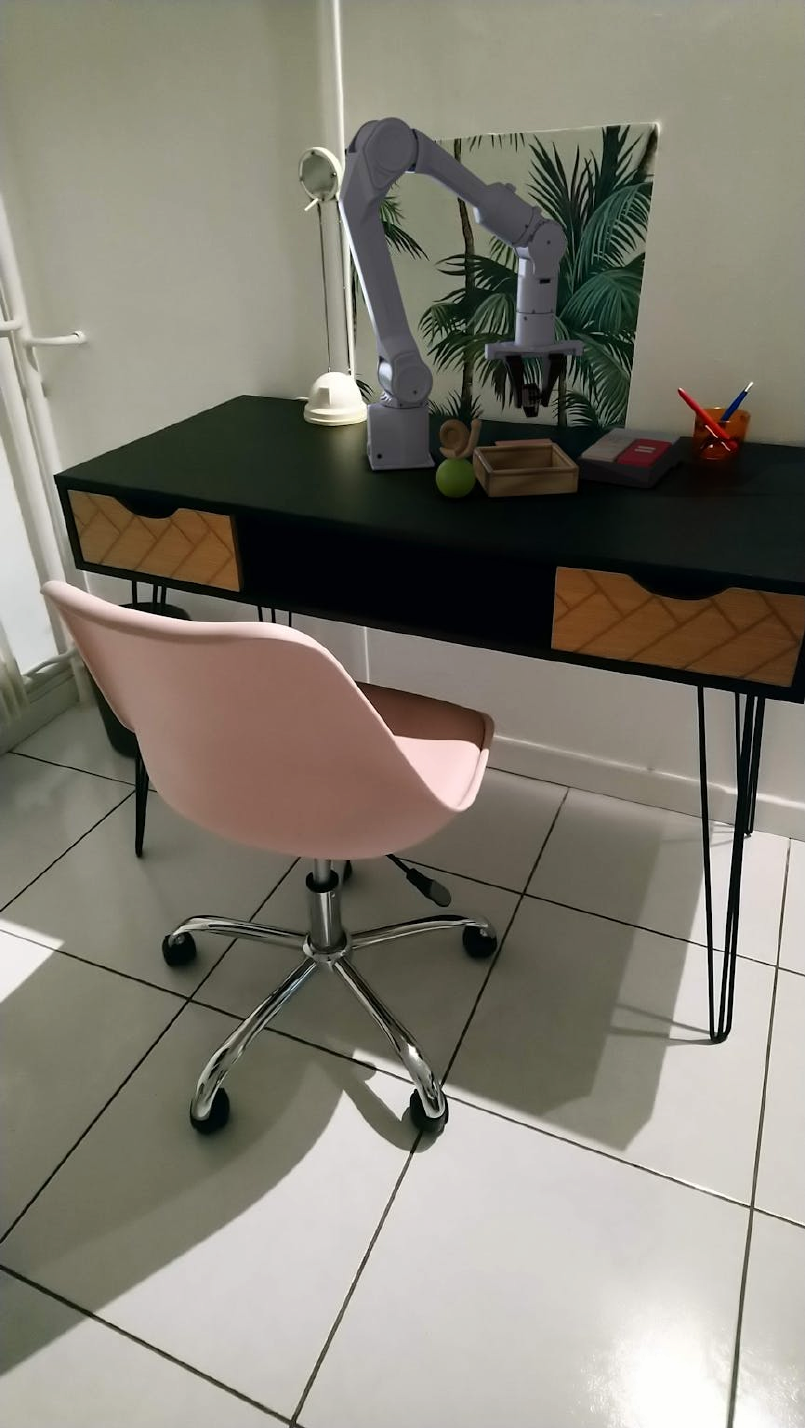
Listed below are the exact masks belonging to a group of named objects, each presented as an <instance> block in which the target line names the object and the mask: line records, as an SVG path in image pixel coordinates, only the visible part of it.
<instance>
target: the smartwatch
mask: <svg viewBox="0 0 805 1428" xmlns="http://www.w3.org/2000/svg"><path fill="white" fill-rule="evenodd" d="M540 406H542V405H541V388H540V387H539V386H538V384H537V383H536V382H529V383H523V385H522V410H523V412H524V415H525V417H526V418H527V419H532V418H538V417H539V412H540Z"/></svg>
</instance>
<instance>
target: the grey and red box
mask: <svg viewBox="0 0 805 1428" xmlns="http://www.w3.org/2000/svg"><path fill="white" fill-rule="evenodd" d="M683 443H684V437H683V436H681V435H679V434H672V433H663V432H655V431H647V430H638V429H629V428H621V427H614V428H613V429H611V430H610V431H609V432H608V433H606V434H604V435H603V436H602V437H601V438H599V439H598V440H597V441H596V442H595V443H594V444H592V445H591V446H590V447H588V448H587V449H586V450H585V451H583V452H582V453H581V455H579V456H578V457H577V461H576V465H577V466H578V467H579V473H578V480H586V481H592V482H599V483H607V484H612V485H618V486H619V485H620V486H625V487H626V486H627V487H632V488H633V487H634V488H640V489H648V490H649V489H651V488H652V487H653V486H654V485H655V484H656V483H657V482H658V481H659V480H660V479H661V478H662V477H663V476H664V475H665V474H666V473H667V472H668V471H669V470H670V469H674V468H675V467H676V466H677V465H678V464H679V463H680V462H681V459H682V451H683Z"/></svg>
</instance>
